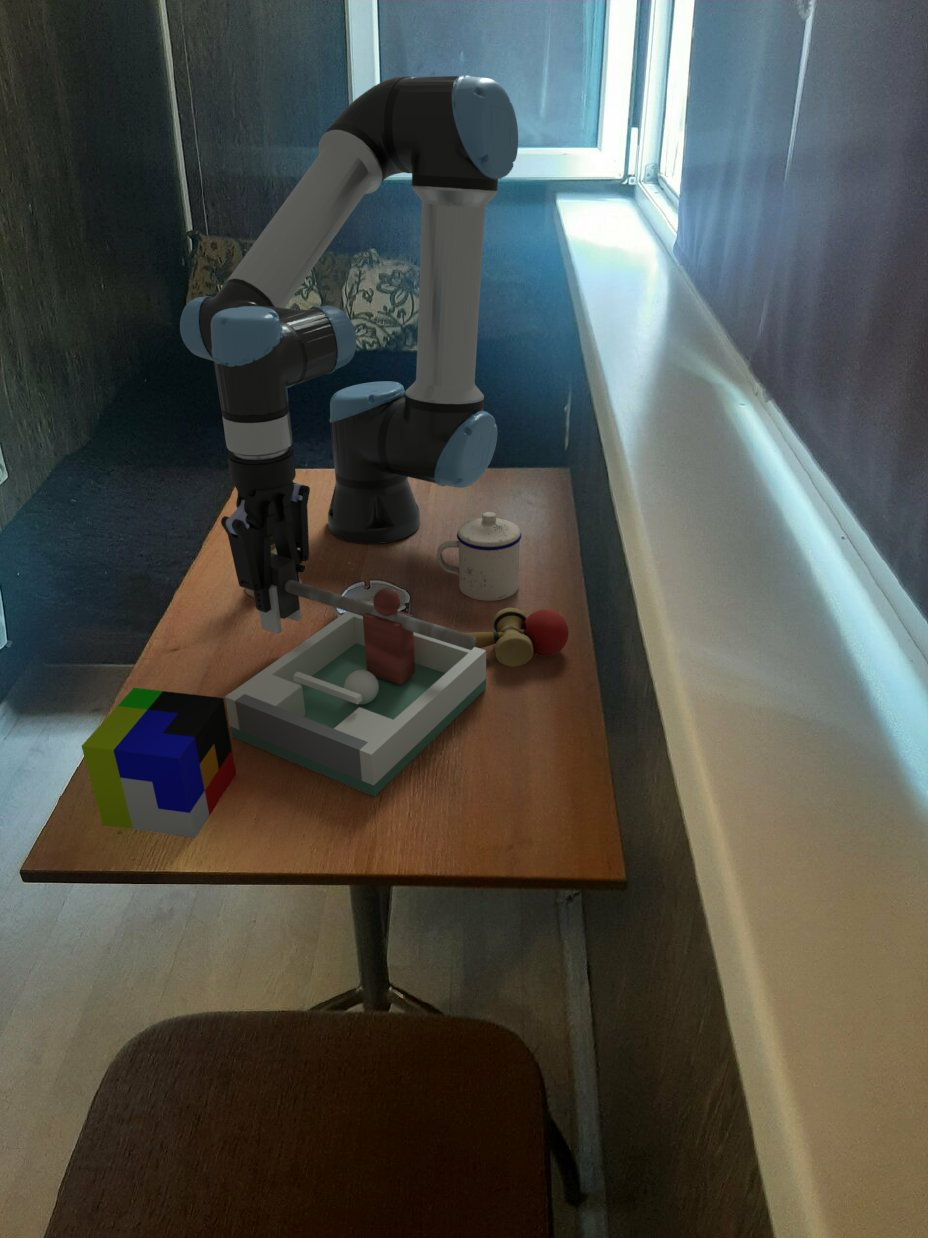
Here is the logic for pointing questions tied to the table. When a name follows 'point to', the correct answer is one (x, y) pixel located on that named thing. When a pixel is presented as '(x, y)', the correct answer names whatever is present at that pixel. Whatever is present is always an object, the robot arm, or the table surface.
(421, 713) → the pitch
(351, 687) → the ball
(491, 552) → the teacup with lid
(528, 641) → the kendama
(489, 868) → the table surface
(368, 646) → the striker
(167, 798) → the puzzle toy
